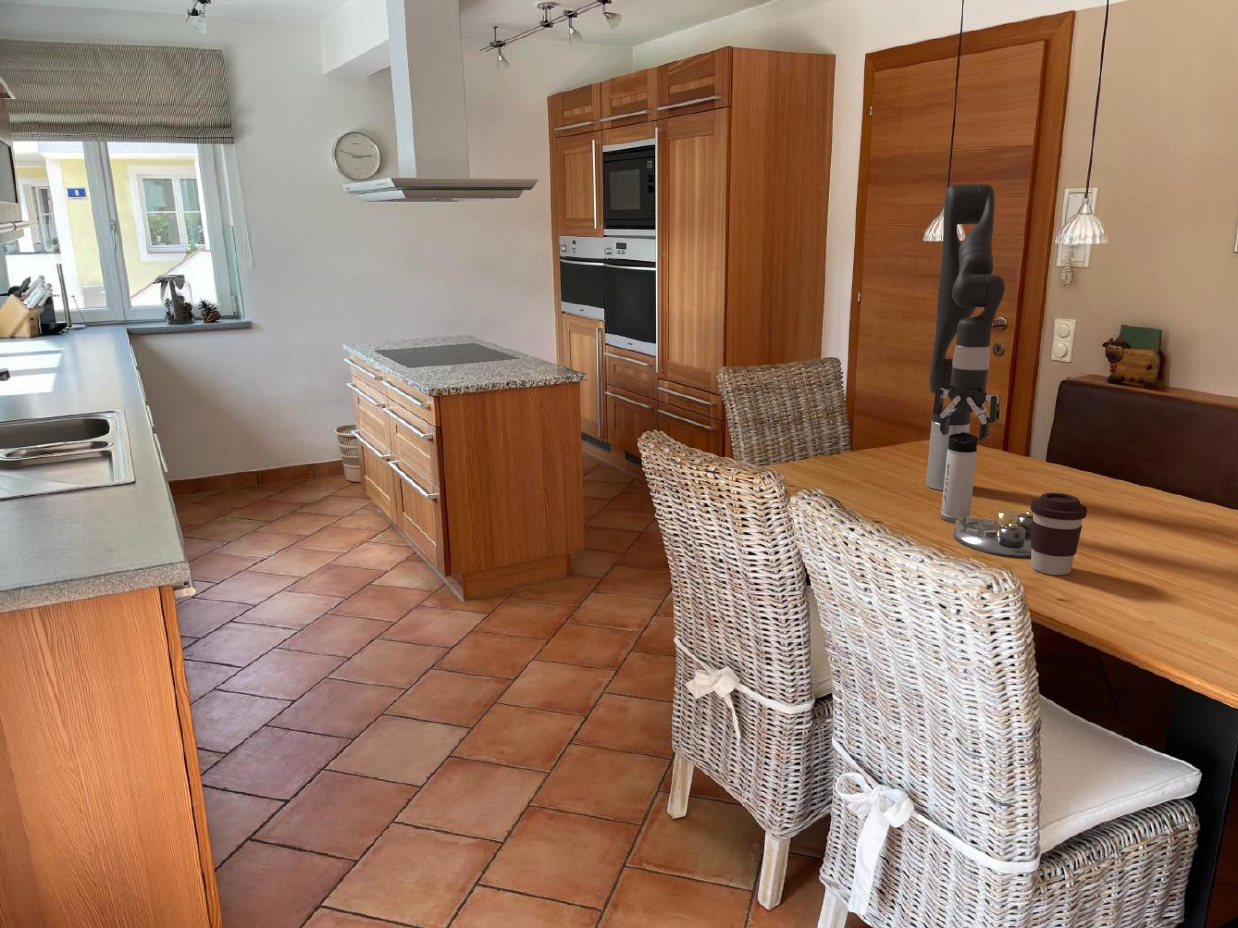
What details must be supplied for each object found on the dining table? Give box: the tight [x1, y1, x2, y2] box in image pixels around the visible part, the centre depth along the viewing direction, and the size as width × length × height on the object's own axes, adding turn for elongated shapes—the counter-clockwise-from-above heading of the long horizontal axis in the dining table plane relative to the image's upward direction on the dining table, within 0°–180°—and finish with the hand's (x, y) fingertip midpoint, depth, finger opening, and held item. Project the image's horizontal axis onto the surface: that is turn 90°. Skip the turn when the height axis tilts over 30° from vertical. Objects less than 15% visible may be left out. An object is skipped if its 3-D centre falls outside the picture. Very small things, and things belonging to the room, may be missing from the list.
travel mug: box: [940, 432, 979, 524], centre depth 207 cm, size 6×7×20 cm
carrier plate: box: [953, 509, 1033, 559], centre depth 195 cm, size 21×21×6 cm
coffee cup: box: [1030, 492, 1088, 576], centre depth 177 cm, size 10×10×15 cm
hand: (963, 437), depth 204 cm, fingers open, 8 cm apart
